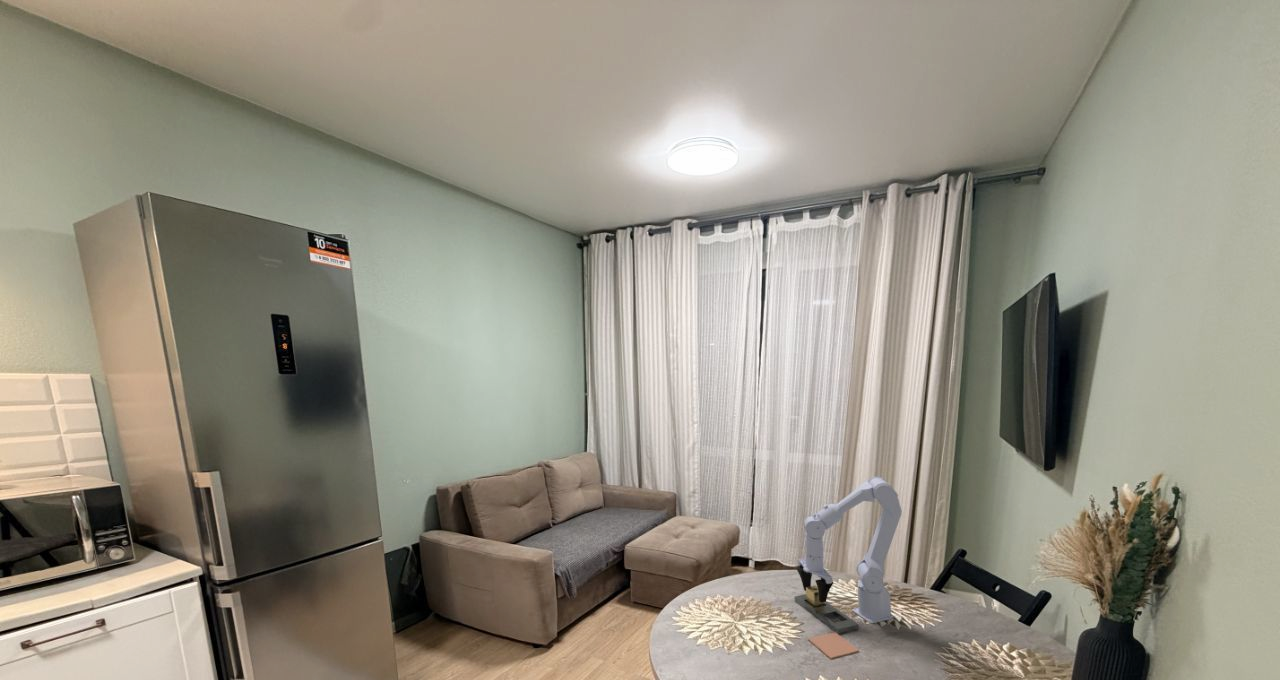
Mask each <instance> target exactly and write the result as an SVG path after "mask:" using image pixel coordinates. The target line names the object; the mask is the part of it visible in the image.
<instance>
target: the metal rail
mask: <svg viewBox="0 0 1280 680" xmlns="http://www.w3.org/2000/svg"><path fill="white" fill-rule="evenodd" d="M794 601H795V603H796V604H797V605H800V607H802V608H804V609H805V610H806V611H807V612H809V613H810V614H811V615H812V616H814V618H815V619H818V621H820V622H821V623H823V624H824V625H825V626H827V627H828V628H829V629H830V630H832V631H833V633H834V632H836V633H837V634H838V635H841V634H844V633H845V634H846V633H848V632H853V631H857V630H860V629H859V628H860V627H859V623H858V622H856V621H855V620H853V619H852V618H851V617H850V616H848V615H846V614H845V613H843V612H842V611H840V610H839V609H837V608H836V607H835V606H833V605H832V604H831V603H829V602H827V601H826V602H824V606H821V607H816V608H814V607H812V606H811V605H810V604H808V603H807V602H806V593H805V594H800V595H796V596H794ZM833 617H837V618H838V619H839V620H840V621H838V622H834V621H832V619H830V618H833Z"/></svg>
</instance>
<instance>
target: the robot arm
mask: <svg viewBox="0 0 1280 680" xmlns="http://www.w3.org/2000/svg"><path fill="white" fill-rule="evenodd" d="M876 501H877V502H878V504H879V505H880V507H881V509H882V511H881V514H880V516H879V519H878V523H877V524H876V525H877V526H876V528H875V531H874V533H873V536H872V539H871V542H870V545H869V548H868V551H867V553H866V554H864V555H863V558H862V560H861V561H859V562H858V563H857V564H856V569H855V570H856V573H857V575H858V576H859V580H858V581H857V604H858V607H856V608H852V609H851V611H852V612H853V613H855V614H856V615H858V616H859V617H861V618H862V619H864V620H865V621H867V622H868V623H869V624H876V623H880V622H884V621H889V620H893V619H894V616H892V603H891V595H890V592H889V590H888V589H887V587H886V586H885V583H884V575H885V563H886V562H885V561H886V559H887V555H888V553H889V550H890V547H891V545H892V542H893V539H894V535H895V533H896V530H897V528H898V524H899V522H900V519H901V516H902V514H903V513H902V512H903V511H902V508H901V504H900V500H899V494H898V492H896V490H895V488H893V486H891V484H889V483H888V482H887V481H886V480H885V479H884V478H883V477H882V476H881V477H880V476H873V477H871V478H869V479H868V480H866V481H864V482H863V483H861V484H860V485H859V486H858V487H857V488H855V489H854V490H852V492H850V493H848V495H846V496H845V497H844V498H843V499H841V500H840V501H839V502H838V503H829V504H827V503H826V504H824V505H823V508H822V509H821V510H819V511H817V512H816V513H814V512H813V513H812V514H811V515H812V516H810V515H809V516H808V517H806V518H805V520H804V522H803V526H804V529H805V540H804V549H805V550H804V551H805V554H804V556H805V557H804V558H805V559H804V558H798V559H797V565H798V566H799V567H797V568H796V571H797V573H798V575H799V577H800V580H801V582H802V587H803V590H804V591H805V592H806V587H809V586H812V576H813V575H814V576H817V577H819V578H820V579H815V583H816V584H815V585H816V586H817V587H818V592H819V600H820V602H827V598H828V595H829V592H830V589H831V587H832V586H833V585H834V581H833V576H832V575H830V574H829V573H828V571H827V570H826V569H825V568H824V540H823V537H824V535H825V532H826V530H829V529H830V528H832V527H833V526H834V525H837V524H838V523H840V522H841V521H842V520H843V518H844V513H846V512H848V511H850V510H851V509H853V508H855V507H856V506H858V505H860V504H861V503H863V502H869V503H870V502H872V503H876Z"/></svg>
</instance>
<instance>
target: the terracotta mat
mask: <svg viewBox="0 0 1280 680" xmlns="http://www.w3.org/2000/svg"><path fill="white" fill-rule="evenodd" d="M808 641H809V642H810V643H811V644H812V646H815V648H817V649H818V650H819V651H820V652H822V653H823V655H825V656H826V657H827V658H828V659H830V660H833V659H836V658H841V657H845V656H848V655H852V654H856V653H859V652H860V650H859V649H858V648H857V647H855V646H854V645H853V644H852V643H850V642H849V641H848V640H846V639H845V638H844V637H842V636H841V634H837V633H836V632H834V631H833V632H831V633H827V634H822V635H819V636H814V637H809V638H808Z"/></svg>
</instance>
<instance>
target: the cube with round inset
mask: <svg viewBox="0 0 1280 680" xmlns="http://www.w3.org/2000/svg"><path fill="white" fill-rule="evenodd" d="M805 594H806V602H807V603H808V604H810V605H811V606H812V607H814V608H816V607H821V606H824V602H820V600H819V592H818V587H817V584H815V585H811V586H809V587H806V591H805Z"/></svg>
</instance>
